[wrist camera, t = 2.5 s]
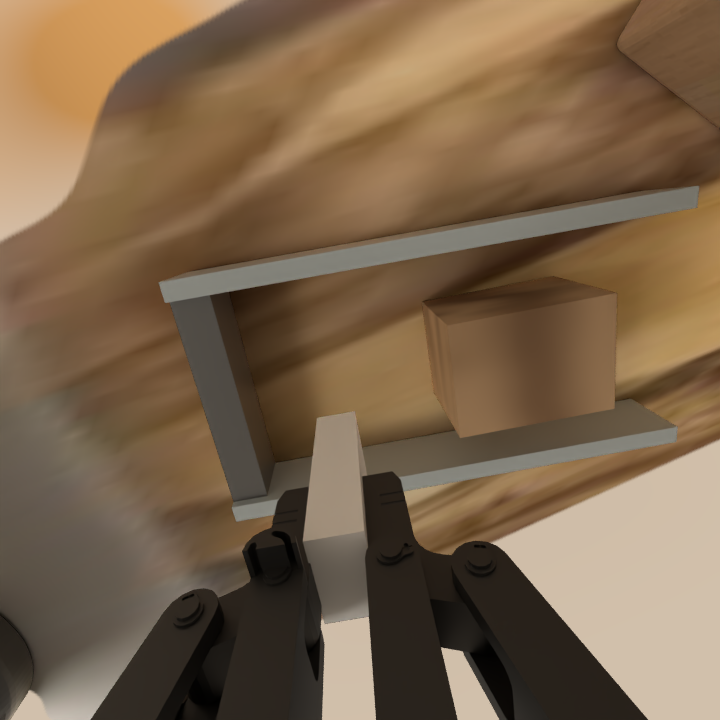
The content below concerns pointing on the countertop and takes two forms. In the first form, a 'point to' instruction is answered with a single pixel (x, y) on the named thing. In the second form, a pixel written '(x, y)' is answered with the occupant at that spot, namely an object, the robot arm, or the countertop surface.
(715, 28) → the wooden block
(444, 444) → the grey u-shaped frame
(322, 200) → the countertop surface
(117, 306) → the countertop surface
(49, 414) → the countertop surface
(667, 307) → the countertop surface
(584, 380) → the walnut block
